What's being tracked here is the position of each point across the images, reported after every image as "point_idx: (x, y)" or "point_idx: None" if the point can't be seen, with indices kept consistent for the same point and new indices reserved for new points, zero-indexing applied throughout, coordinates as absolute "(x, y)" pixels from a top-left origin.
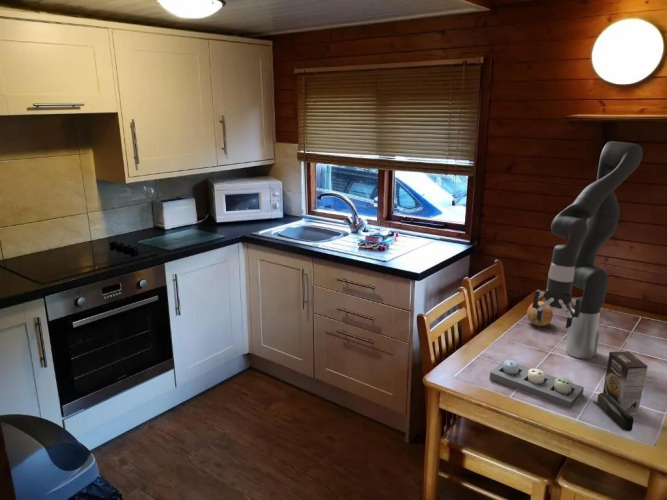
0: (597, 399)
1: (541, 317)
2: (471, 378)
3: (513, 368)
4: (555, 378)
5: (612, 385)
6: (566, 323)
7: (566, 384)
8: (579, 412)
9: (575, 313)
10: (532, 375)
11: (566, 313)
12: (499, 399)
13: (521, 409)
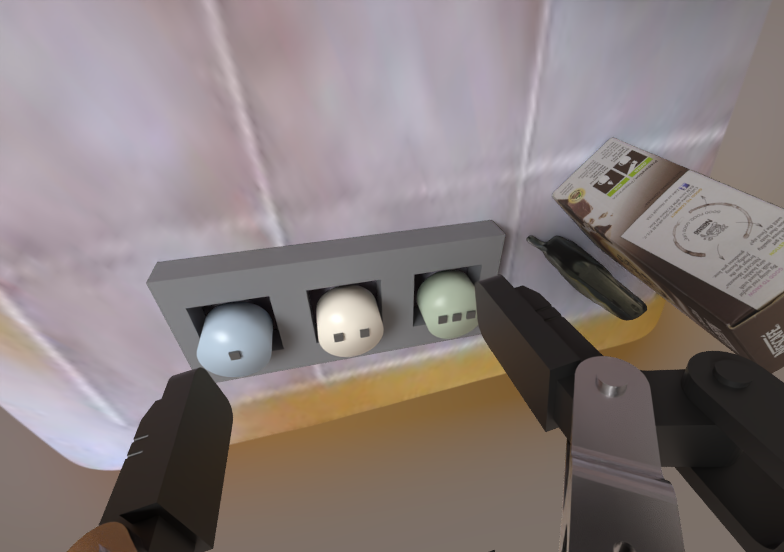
0: (549, 258)
1: (212, 437)
2: None
3: (264, 363)
4: (400, 256)
5: (629, 266)
6: (505, 367)
7: (468, 320)
8: None
9: (706, 487)
10: (350, 355)
11: (564, 498)
12: (309, 403)
13: (375, 393)
